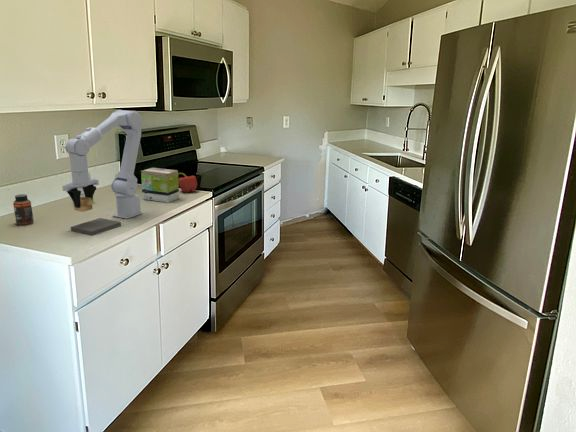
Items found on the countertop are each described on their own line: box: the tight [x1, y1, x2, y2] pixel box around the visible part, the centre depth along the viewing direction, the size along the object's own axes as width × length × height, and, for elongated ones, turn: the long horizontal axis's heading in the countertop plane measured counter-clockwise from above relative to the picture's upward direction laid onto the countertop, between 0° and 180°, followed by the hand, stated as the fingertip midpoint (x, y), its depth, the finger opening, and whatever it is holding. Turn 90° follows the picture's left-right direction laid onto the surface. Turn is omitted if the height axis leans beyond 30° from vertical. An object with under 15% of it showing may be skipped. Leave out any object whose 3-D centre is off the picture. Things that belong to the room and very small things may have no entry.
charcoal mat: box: [70, 217, 122, 236], centre depth 164 cm, size 14×11×2 cm
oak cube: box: [73, 196, 93, 213], centre depth 163 cm, size 4×4×4 cm
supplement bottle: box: [12, 193, 34, 226], centre depth 166 cm, size 6×6×11 cm
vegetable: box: [178, 172, 198, 193], centre depth 227 cm, size 11×10×10 cm
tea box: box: [140, 167, 180, 204], centre depth 209 cm, size 15×10×15 cm
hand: (83, 206), depth 163 cm, fingers closed on oak cube, 4 cm apart
